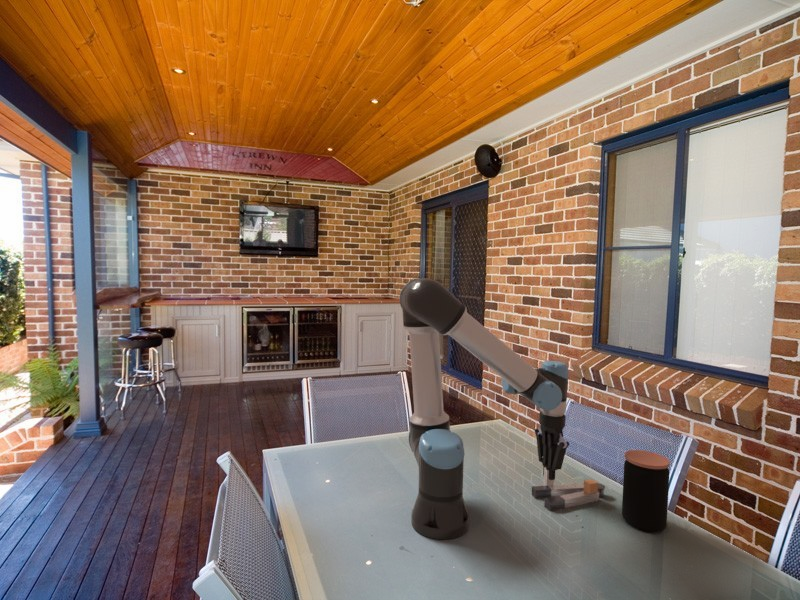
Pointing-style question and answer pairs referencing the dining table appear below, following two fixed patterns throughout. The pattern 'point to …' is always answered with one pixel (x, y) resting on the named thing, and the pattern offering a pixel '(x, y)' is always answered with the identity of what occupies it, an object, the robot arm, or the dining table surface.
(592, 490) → the tab
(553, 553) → the dining table surface
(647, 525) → the coffee jar
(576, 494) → the tongs lower
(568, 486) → the tongs upper
